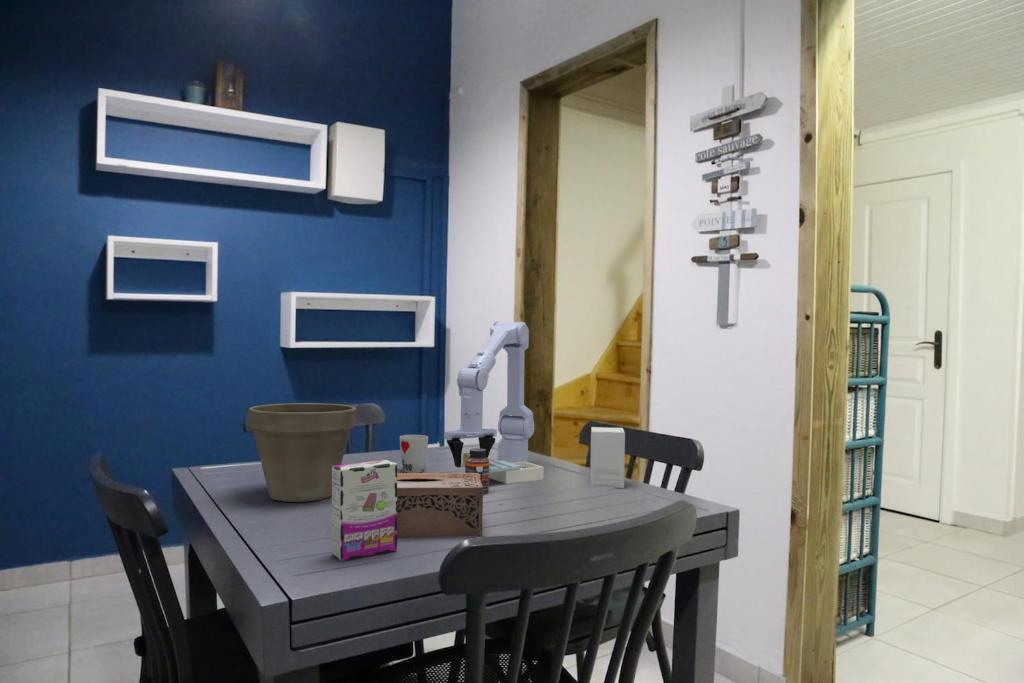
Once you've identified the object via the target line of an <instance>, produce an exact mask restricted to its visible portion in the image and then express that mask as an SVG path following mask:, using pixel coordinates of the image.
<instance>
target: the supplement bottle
mask: <svg viewBox="0 0 1024 683" xmlns="http://www.w3.org/2000/svg"><path fill="white" fill-rule="evenodd" d="M468 453H469V454H470V457H468V458H467V459H466V466H465V468H464V469H465V470H464V473H479V476H480V480H481V483H482V486H483V496H484V495H487V494H489V490H490V489H489V488H490V487H489V486H490V478H489V461H490V459H489V457H488V458H487V457H486V450H485V449H480V447H479V448H478V447H477V448H470V449H469V452H468Z"/></svg>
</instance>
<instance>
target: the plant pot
mask: <svg viewBox="0 0 1024 683" xmlns="http://www.w3.org/2000/svg"><path fill="white" fill-rule="evenodd" d="M356 411H357V408H356V407H355V406H353V405H348V404H339V403H323V402H322V403H320V402H293V403H292V402H291V403H270V404H262V405H256V406H252V407H251V406H250V408H248V421H249V422H248V423H249V429H251V431H253V433H254V438H255V444H256V448H257V452H258V456H259V459H260V463H261V464H260V465H261V468H262V472H263V476H264V479H265V480H264V481H265V484H266V488H267V491H268V492H267V493H268V495H269V497H270V498H271V500H275V501H279V502H284V503H285V502H288V503H304V502H314V501H315V502H316V501H319V500H324V498H325V499H328V498H329V497H332V466H336V465H342V462H343V459H344V455H345V452H346V448H347V445H348V441H349V437H350V433H351V429H353V428H354V427H355V424H356V415H357V414H356V413H357V412H356Z"/></svg>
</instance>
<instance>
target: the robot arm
mask: <svg viewBox="0 0 1024 683" xmlns="http://www.w3.org/2000/svg"><path fill="white" fill-rule="evenodd" d="M489 330H490V331H489V340H488V341H487V343H486V345H485V347H484V349H481V350H478V351H477V352H476V354H475V355H474V357H473V358H472V359H471V361H470V363H469V364H468V366H467V367H464V368H462V369H461V370H459V372H458V374H457V378H456V384H457V387H458V394H459V396H460V429H457V430H451V431H449V430H448V431H445V432H444V439H445V440H446V444H447V445H448V447H449V449H450V452H451V454H452V458H453V463H454V467H456V468H458V469H459V468H462V456H463V446H464V443H465V442H464V441H461V439H474V438H478V446H479V448H480V449H485V450H486V457H487V458H488V459H489V455H490V453H491V450H492V448H493V446H494V444H495V443H496V437H498V436H497V434H498V433H499V435H501V438H500V440H498V444H497V460H503V461H506V462H510V463H515V462H525V461H526V462H529V461H528V460H529V459H528V458H529V457H528V455H529V450H528V449H529V439H530V438H531V437H532V436H533V435H534V432H535V420H534V412H533V411H532V410H531V409H530V408H528V407H527V406H526V405H525V351H526V350H528V349H529V342H530V335H529V334H530V330H529V328H528V326H527V324H526V322H525V321H513V322H511V321H493V322H492V325H491V326H490V328H489ZM502 349H503V350H504V351H505V352H506V354H507V364H506V365H507V366H506V367H507V368H506V371H507V372H506V373H507V376H506V378H507V379H506V381H507V384H506V385H507V386H506V389H507V391H506V392H507V393H506V394H507V395H506V398H507V399H506V401H507V402H506V406H505V407H504V408H502V409H501V410H500V411H499V418H498V422H497V428H483V415H484V414H483V407H484V406H483V405H484V404H483V402H484V400H483V398H484V390H485V389H486V387H487V386H488V382H489V381H488V380H489V376H490V372H491V371H492V369H493V368H494V367H495V365H496V361H497V360H496V356H497V355H498V353H499V352H500V351H501V350H502ZM497 431H498V432H497Z"/></svg>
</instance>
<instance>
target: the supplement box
mask: <svg viewBox="0 0 1024 683" xmlns="http://www.w3.org/2000/svg"><path fill="white" fill-rule="evenodd" d="M590 428H591V429H590V470H589V472H590V474H589V475H590V477H589V478H590V486H608V487H613V488H616V489H617V488H619V489H624V488H625V466H626V465H625V464H626V463H625V461H626V458H625V454H626V447H625V446H626V432H625V430H624V428H623V427H601V426H599V427H598V426H596V427H595V426H591V427H590Z"/></svg>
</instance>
